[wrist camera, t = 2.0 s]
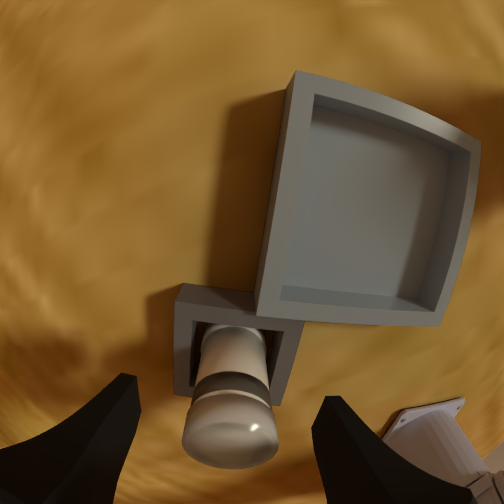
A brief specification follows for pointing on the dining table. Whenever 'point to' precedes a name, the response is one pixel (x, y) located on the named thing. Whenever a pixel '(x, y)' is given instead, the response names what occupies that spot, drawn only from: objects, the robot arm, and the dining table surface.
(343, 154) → the parts tray
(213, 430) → the cylinder
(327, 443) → the robot arm
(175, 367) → the fuse socket
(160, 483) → the dining table surface
